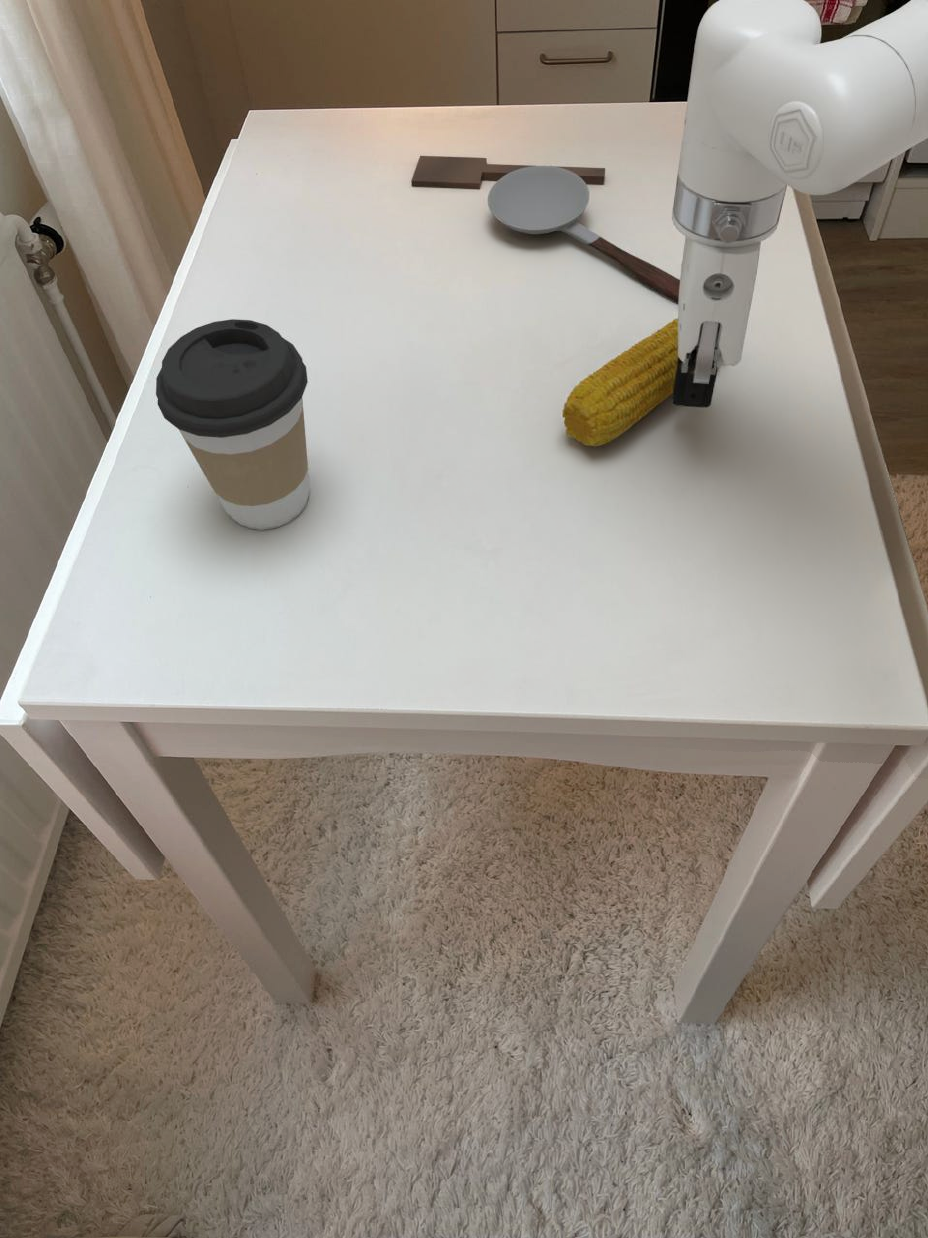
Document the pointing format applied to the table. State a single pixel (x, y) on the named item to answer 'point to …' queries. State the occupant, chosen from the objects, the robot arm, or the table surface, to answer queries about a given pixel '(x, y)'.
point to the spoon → (563, 216)
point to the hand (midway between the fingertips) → (691, 400)
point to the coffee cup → (241, 417)
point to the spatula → (478, 172)
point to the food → (623, 389)
